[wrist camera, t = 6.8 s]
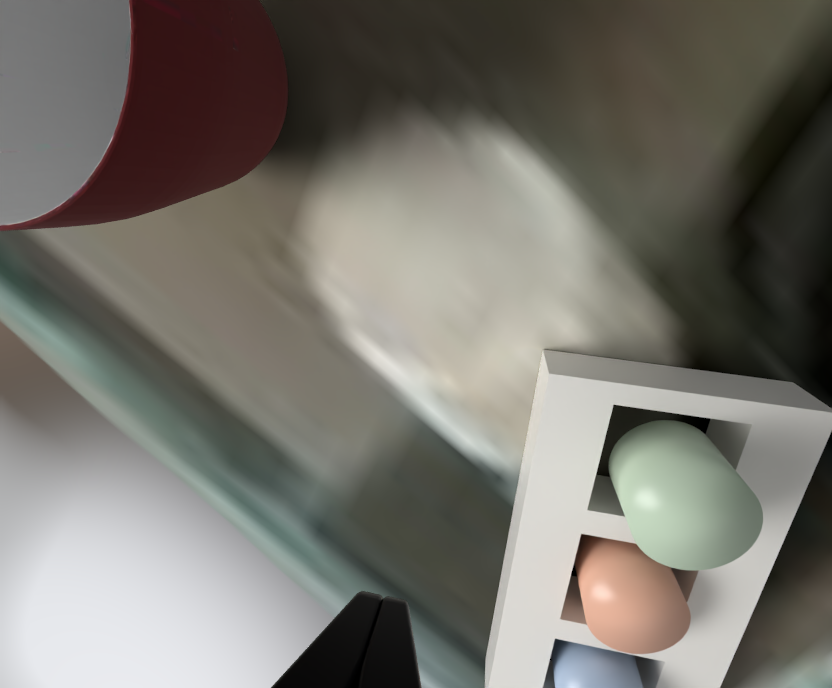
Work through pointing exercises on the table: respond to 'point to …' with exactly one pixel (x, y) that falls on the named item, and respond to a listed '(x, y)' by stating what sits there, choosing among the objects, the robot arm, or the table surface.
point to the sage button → (683, 497)
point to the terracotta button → (629, 597)
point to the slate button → (592, 667)
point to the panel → (603, 516)
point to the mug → (131, 105)
